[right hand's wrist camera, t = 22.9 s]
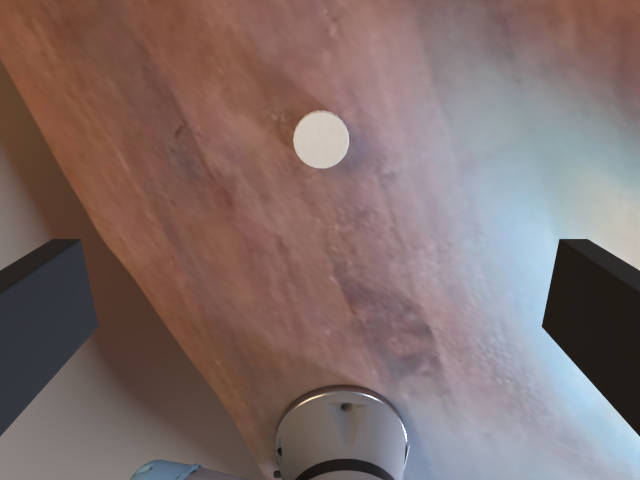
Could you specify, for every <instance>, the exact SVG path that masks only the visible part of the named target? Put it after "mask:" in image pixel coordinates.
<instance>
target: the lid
mask: <svg viewBox="0 0 640 480" xmlns="http://www.w3.org/2000/svg"><path fill="white" fill-rule="evenodd" d="M293 141H294V148H295V151H296V154H297V155H298V156H299V158H300V159H301V160H302V161H303V162H304V163H306V164H307V165H309V166H311V167H314V168H328V167H331V166H333V165H335V164H337V163H338V162H339V161H340V160H341V159H342V158H343V157H344V155H345V153H346V151H347V149H348V143H349V137H348V131H347V129H346V125H345V124H344V123H343V122H342V119H340V118H339V117H338V116H337V114H333V113H331V111H330V112H328V111H325V110H323V111H322V110H320V111H318V110H317V111H314V112H310V113H309V114H307V115H304V117H303V118H302V119H300V121H299V124H298V125H296V130H295V131H294V139H293Z"/></svg>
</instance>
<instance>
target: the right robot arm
mask: <svg viewBox="0 0 640 480" xmlns="http://www.w3.org/2000/svg"><path fill="white" fill-rule="evenodd" d="M97 327H98V323H97V318H96V314H95V309H94V304H93V299H92V294H91V289H90V284H89V279H88V274H87V269H86V264H85V259H84V254H83V249H82V244H81V240H80V239H52V240H50V241H49V242H47V243H45V244H44V245H42V246H40V247H39V248H37V249H35V250H34V251H32V252H30V253H29V254H27V255H25V256H24V257H22V258H20V259H19V260H17V261H16V262H14V263H12V264H11V265H9V266H7V267H6V268H4V269H2V270H1V271H0V436H1V435H2V434H3V433H4V432H5V431H6V429H7V428H8V427H9V426H10V425H11V424H12V423H13V422H14V420H15V419H16V418H17V417H18V416H19V415H20V414H21V413H22V411H23V410H24V409H25V408H26V407H27V406H28V405H29V404H30V402H31V401H32V400H33V399H34V398H35V397H36V396H37V395H38V394H39V392H40V391H41V390H42V389H43V388H44V387H45V386H46V385H47V383H48V382H49V381H50V380H51V379H52V378H53V377H54V376H55V374H56V373H57V372H58V371H59V370H60V369H61V368H62V367H63V366H64V364H65V363H66V362H67V361H68V360H69V359H70V358H71V357H72V355H73V354H74V353H75V352H76V351H77V350H78V349H79V348H80V346H81V345H82V344H83V343H84V342H85V341H86V340H87V338H88V337H89V336H90V335H91V334H92V333H93V332H94V331H95V330H96V328H97ZM542 327H543V328H544V330H545V331H546V332H547V333H548V334H549V335H550V336H551V337H552V339H553V340H554V341H555V342H556V343H557V344H558V345H559V346H560V348H561V349H562V350H563V351H564V352H565V353H566V354H567V355H568V357H569V358H570V359H571V360H572V361H573V362H574V363H575V364H576V366H577V367H578V368H579V369H580V370H581V371H582V372H583V373H584V374H585V376H586V377H587V378H588V379H589V380H590V381H591V382H592V383H593V385H594V386H595V387H596V388H597V389H598V390H599V391H600V392H601V394H602V395H603V396H604V397H605V398H606V399H607V400H608V401H609V403H610V404H611V405H612V406H613V407H614V408H615V409H616V410H617V411H618V413H619V414H620V415H621V416H622V417H623V418H624V419H625V420H626V422H627V423H628V424H629V425H630V426H631V427H632V428H633V429H634V431H635V432H636V433H637V434H638V435H639V436H640V271H639V270H638V269H636V268H634V267H633V266H631V265H629V264H628V263H626V262H624V261H623V260H621V259H620V258H618V257H616V256H615V255H613V254H611V253H610V252H608V251H606V250H605V249H603V248H601V247H600V246H598V245H596V244H595V243H593V242H591V241H590V240H588V239H559V244H558V249H557V254H556V259H555V264H554V269H553V274H552V279H551V284H550V289H549V294H548V299H547V304H546V309H545V313H544V318H543V323H542ZM409 447H410V446H409ZM275 448H276V458H277V462H278V465H279V469H280V471H275V472H274V477H275V478H282V480H402V478H403V471H404V468H405V465H404V464H406V461H405V460H407V457H406V455H407V456H408V452H409V448H408V452H407V437H406V432H405V428H404V424H403V421H402V419H401V416H400V415H399V413H398V411H397V410H396V408H395V407H394V406H393V405H392V404H391V403H390V402H389V401H388V400H386V399H385V398H384V397H382V396H381V395H379V394H377V393H375V392H373V391H371V390H368V389H365V388H361V387H357V386H350V385H333V386H326V387H322V388H318V389H315V390H313V391H310V392H308V393H306V394H304V395H302V396H301V397H299V398H298V399H296V400H295V401H294V402H293V403H292V404H291V405H290V406H289V407H288V408H287V409H286V410H285V412H284V413H283V415H282V417H281V418H280V421H279V423H278V427H277V433H276V442H275ZM130 480H249V479H245V478H241V477H237V476H233V475H229V474H225V473H221V472H217V471H213V470H209V469H205V468H202V466H201V465H199V464H194V465H188V464H182V463H176V462H171V461H165V460H155V461H151V462H149V463H147V464H145V465H144V466H142V467H141V468H140V469H138V470H137V471H136V473H135V474H134V475H133V476H132V477H131V478H130Z"/></svg>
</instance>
